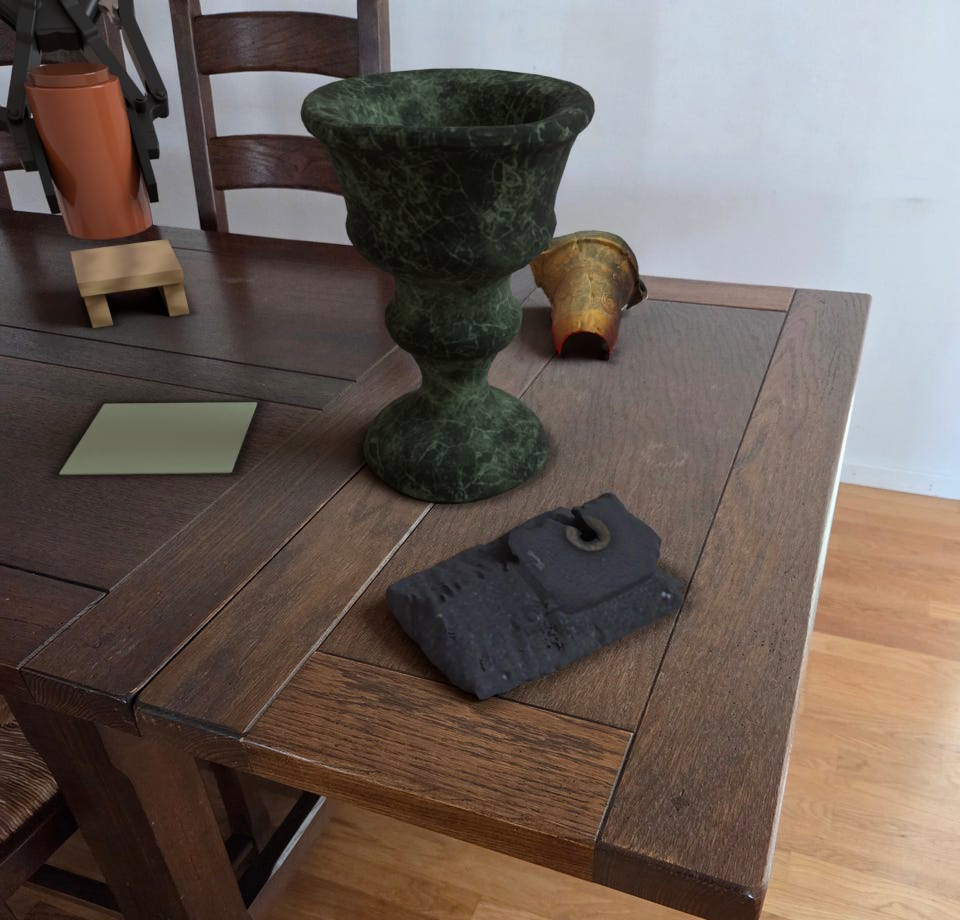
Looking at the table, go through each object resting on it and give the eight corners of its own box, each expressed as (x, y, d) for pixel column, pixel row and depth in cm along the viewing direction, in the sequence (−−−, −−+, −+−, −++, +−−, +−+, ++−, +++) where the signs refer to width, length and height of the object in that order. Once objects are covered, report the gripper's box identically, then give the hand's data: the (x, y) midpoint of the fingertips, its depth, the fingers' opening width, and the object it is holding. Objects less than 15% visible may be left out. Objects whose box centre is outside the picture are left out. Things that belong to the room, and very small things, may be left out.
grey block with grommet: (359, 601, 69) (354, 551, 66) (577, 510, 78) (581, 462, 75) (472, 718, 60) (472, 667, 56) (704, 599, 69) (715, 549, 66)
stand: (92, 333, 107) (77, 283, 103) (84, 299, 116) (70, 251, 112) (192, 318, 111) (181, 268, 107) (178, 285, 119) (167, 239, 115)
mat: (60, 477, 83) (58, 473, 82) (105, 407, 93) (104, 403, 93) (231, 475, 83) (231, 471, 83) (257, 405, 93) (257, 402, 93)
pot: (521, 288, 94) (537, 184, 103) (489, 363, 103) (506, 263, 112) (669, 339, 97) (672, 234, 106) (625, 408, 107) (631, 307, 115)
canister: (55, 240, 75) (5, 77, 67) (82, 214, 81) (38, 61, 73) (140, 239, 75) (100, 77, 67) (161, 213, 81) (126, 60, 73)
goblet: (301, 492, 81) (241, 116, 61) (395, 385, 97) (373, 60, 77) (534, 535, 75) (553, 140, 55) (593, 415, 91) (624, 74, 71)
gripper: (-124, -101, 67) (-42, 186, 67) (149, -106, 73) (226, 158, 73) (-90, -22, 74) (-16, 239, 74) (156, -32, 80) (226, 209, 80)
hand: (104, 198), depth 73 cm, fingers closed on canister, 7 cm apart
